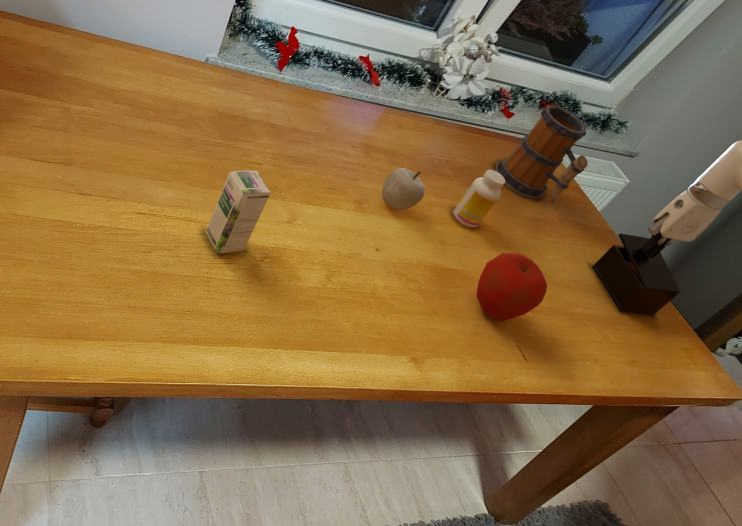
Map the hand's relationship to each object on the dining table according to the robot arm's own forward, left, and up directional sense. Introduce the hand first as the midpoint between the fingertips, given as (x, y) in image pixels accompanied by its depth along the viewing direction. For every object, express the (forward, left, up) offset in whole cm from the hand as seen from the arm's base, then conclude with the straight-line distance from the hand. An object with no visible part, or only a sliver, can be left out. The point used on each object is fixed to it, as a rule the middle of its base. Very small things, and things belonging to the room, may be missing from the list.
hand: (646, 253), depth 155 cm
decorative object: (+51, +29, -11) cm, 60 cm away
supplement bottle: (+37, +16, -11) cm, 42 cm away
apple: (+22, +40, -11) cm, 47 cm away
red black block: (0, +1, -10) cm, 10 cm away
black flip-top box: (-2, +2, -10) cm, 11 cm away
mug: (+30, -15, -11) cm, 35 cm away
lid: (-1, +1, -1) cm, 3 cm away
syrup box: (+68, +71, -11) cm, 99 cm away
